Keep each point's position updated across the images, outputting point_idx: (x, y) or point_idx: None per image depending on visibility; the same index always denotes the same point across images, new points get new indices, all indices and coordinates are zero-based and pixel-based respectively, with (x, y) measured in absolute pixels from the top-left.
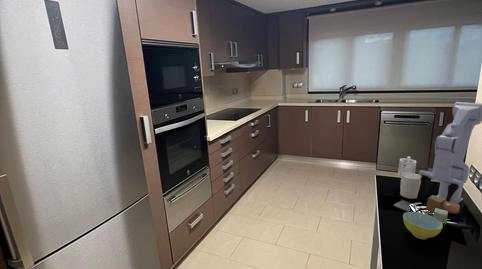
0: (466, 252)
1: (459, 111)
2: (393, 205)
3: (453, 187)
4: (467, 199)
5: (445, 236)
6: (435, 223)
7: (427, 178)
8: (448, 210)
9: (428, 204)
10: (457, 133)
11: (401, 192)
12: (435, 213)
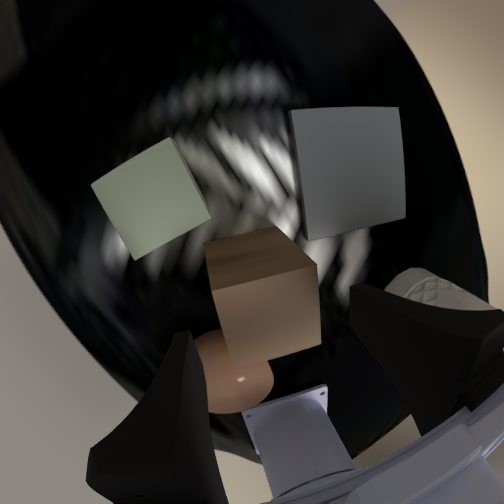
0: None
1: None
2: (394, 107)
3: (94, 473)
4: (251, 460)
5: (51, 59)
6: None
7: (469, 386)
8: (209, 339)
9: (283, 245)
10: None
11: (434, 275)
12: (161, 141)
